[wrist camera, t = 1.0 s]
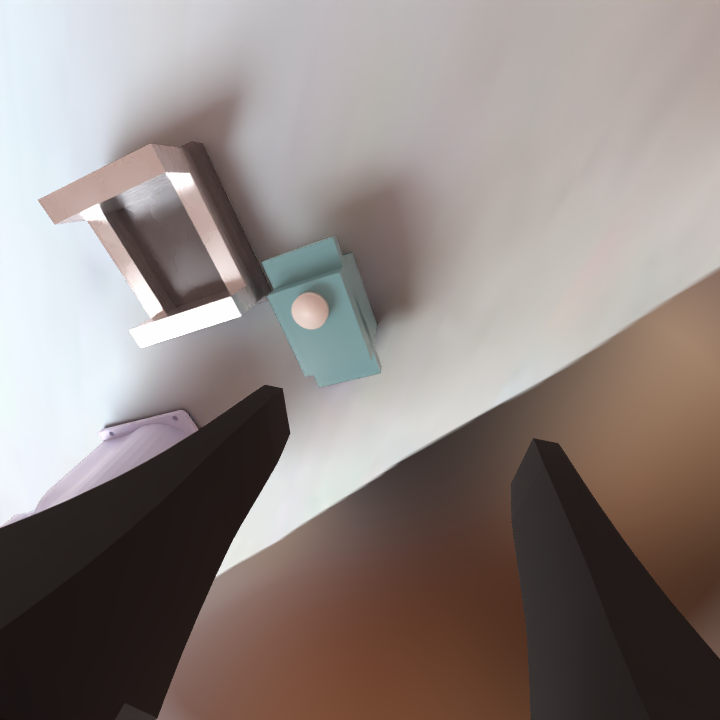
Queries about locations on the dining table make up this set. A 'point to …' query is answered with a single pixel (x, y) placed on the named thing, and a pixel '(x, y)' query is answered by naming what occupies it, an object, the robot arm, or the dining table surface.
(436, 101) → the dining table surface
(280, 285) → the block
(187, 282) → the plate
